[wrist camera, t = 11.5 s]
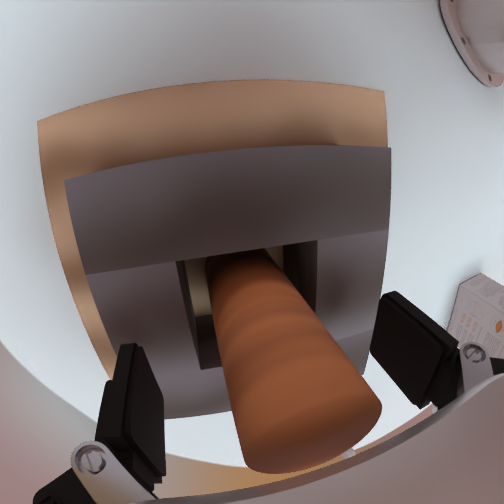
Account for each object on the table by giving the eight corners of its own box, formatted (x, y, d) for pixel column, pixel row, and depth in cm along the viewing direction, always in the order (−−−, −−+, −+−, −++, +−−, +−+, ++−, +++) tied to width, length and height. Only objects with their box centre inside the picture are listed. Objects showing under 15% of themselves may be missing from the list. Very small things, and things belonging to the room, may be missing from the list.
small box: (467, 322, 29) (515, 361, 19) (443, 336, 28) (495, 383, 18) (481, 271, 26) (540, 307, 16) (458, 282, 25) (523, 327, 15)
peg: (200, 240, 16) (235, 424, 5) (268, 231, 17) (398, 372, 6) (209, 300, 17) (250, 483, 6) (271, 290, 18) (364, 447, 7)
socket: (44, 122, 12) (-11, 116, 6) (375, 93, 16) (436, 83, 10) (124, 394, 20) (118, 450, 14) (360, 348, 24) (394, 389, 18)
